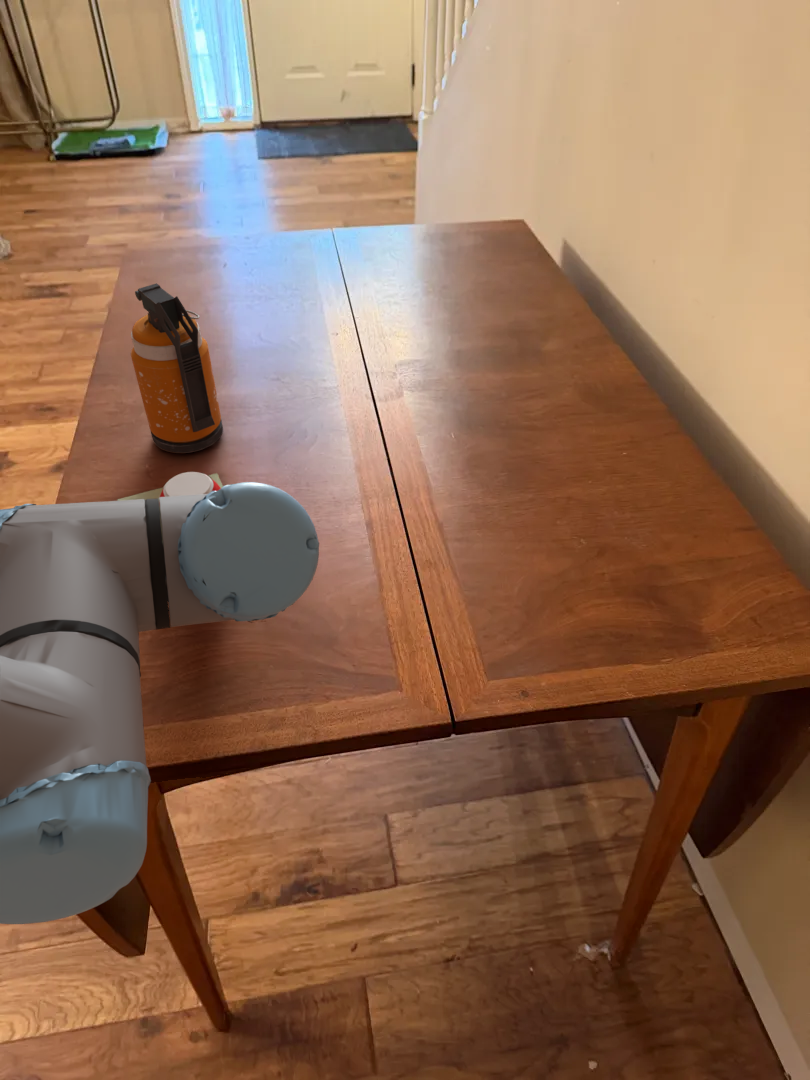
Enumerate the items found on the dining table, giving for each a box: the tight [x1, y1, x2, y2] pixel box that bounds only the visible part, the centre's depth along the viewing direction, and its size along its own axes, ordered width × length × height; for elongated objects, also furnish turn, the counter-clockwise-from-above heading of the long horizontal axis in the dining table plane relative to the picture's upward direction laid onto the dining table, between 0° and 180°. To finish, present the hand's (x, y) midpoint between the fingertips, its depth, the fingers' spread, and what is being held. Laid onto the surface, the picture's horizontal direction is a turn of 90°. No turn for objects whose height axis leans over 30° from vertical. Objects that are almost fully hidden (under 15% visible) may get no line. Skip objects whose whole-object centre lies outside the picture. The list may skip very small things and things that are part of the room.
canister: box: [130, 283, 224, 454], centre depth 94 cm, size 9×11×20 cm
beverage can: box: [159, 471, 221, 507], centre depth 79 cm, size 6×6×12 cm
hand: (212, 575), depth 78 cm, fingers closed
